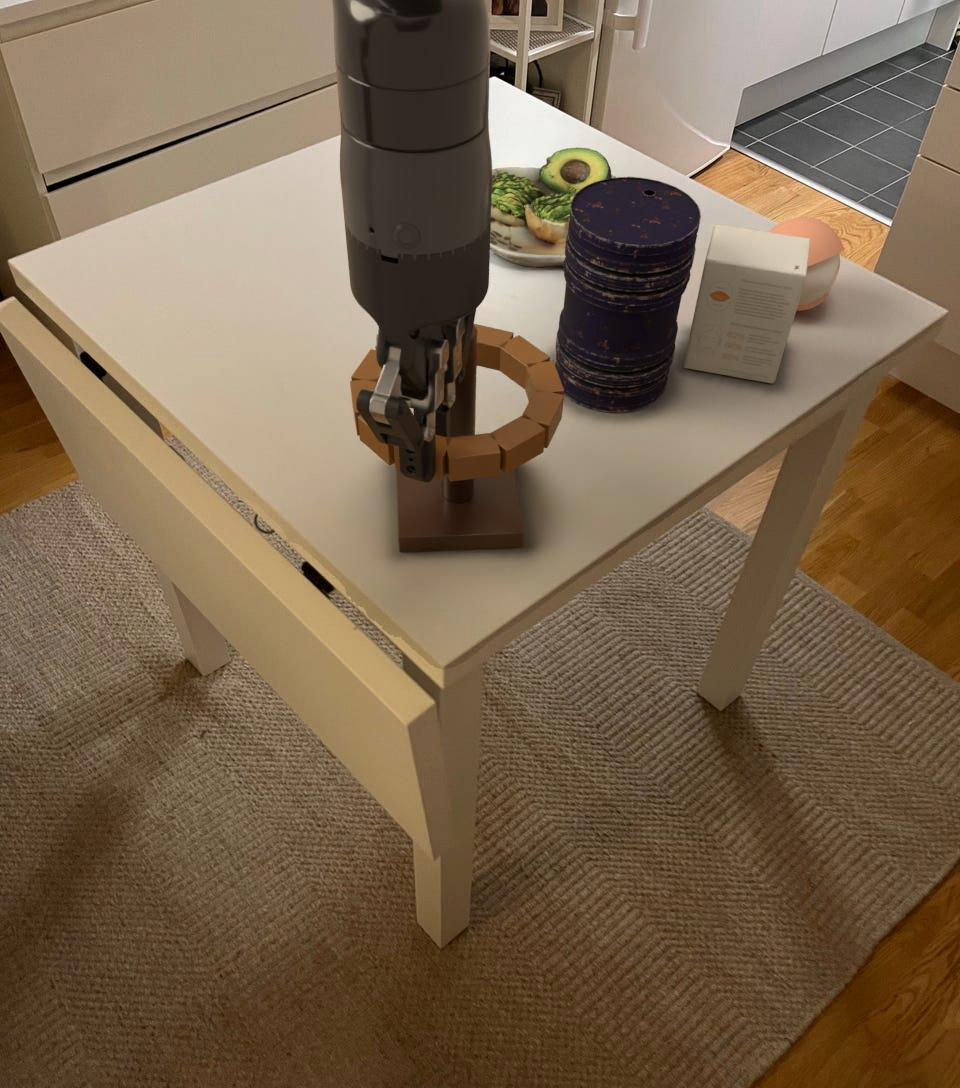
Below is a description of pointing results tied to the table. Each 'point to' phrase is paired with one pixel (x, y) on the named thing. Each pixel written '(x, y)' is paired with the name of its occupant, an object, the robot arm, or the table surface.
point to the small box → (746, 302)
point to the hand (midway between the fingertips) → (425, 463)
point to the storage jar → (623, 291)
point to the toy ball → (815, 257)
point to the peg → (460, 494)
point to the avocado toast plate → (540, 205)
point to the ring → (508, 441)
